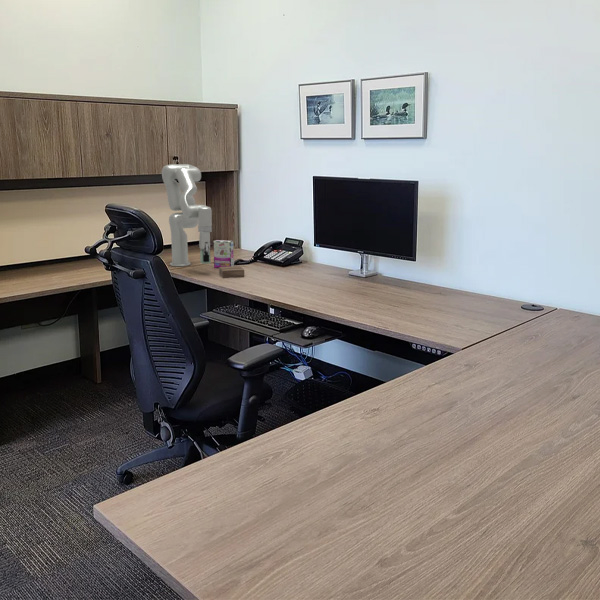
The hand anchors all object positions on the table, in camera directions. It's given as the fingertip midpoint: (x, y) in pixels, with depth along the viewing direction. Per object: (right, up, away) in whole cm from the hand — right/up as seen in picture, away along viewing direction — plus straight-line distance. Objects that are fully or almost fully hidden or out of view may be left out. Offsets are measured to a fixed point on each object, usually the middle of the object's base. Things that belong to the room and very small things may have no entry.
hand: (205, 260), depth 354 cm
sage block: (0, -1, 0) cm, 1 cm away
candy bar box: (+8, -3, +19) cm, 21 cm away
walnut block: (+15, -9, -2) cm, 18 cm away
